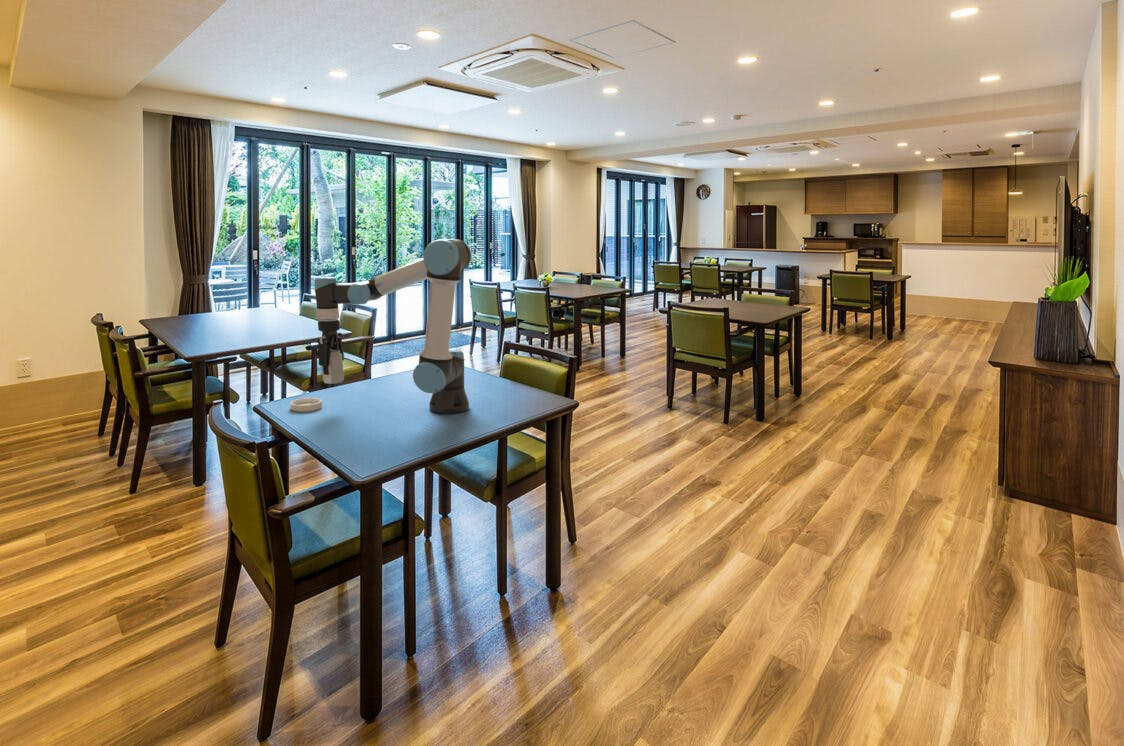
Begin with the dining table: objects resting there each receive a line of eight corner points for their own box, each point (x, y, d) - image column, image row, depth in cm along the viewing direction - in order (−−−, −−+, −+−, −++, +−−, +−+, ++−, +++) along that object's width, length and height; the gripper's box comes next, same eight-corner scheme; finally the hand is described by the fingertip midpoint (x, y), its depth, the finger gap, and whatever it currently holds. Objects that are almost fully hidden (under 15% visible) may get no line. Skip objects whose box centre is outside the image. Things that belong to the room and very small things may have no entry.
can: (322, 380, 233) (320, 349, 230) (343, 379, 236) (341, 348, 233) (322, 385, 226) (320, 353, 224) (344, 383, 229) (341, 351, 226)
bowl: (327, 404, 239) (327, 398, 239) (312, 412, 229) (312, 406, 228) (300, 403, 241) (300, 397, 240) (285, 410, 230) (284, 404, 229)
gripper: (332, 315, 236) (336, 374, 241) (304, 323, 216) (310, 386, 221) (350, 316, 235) (355, 374, 240) (324, 323, 216) (329, 387, 221)
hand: (333, 380), depth 231 cm, fingers closed on can, 7 cm apart
